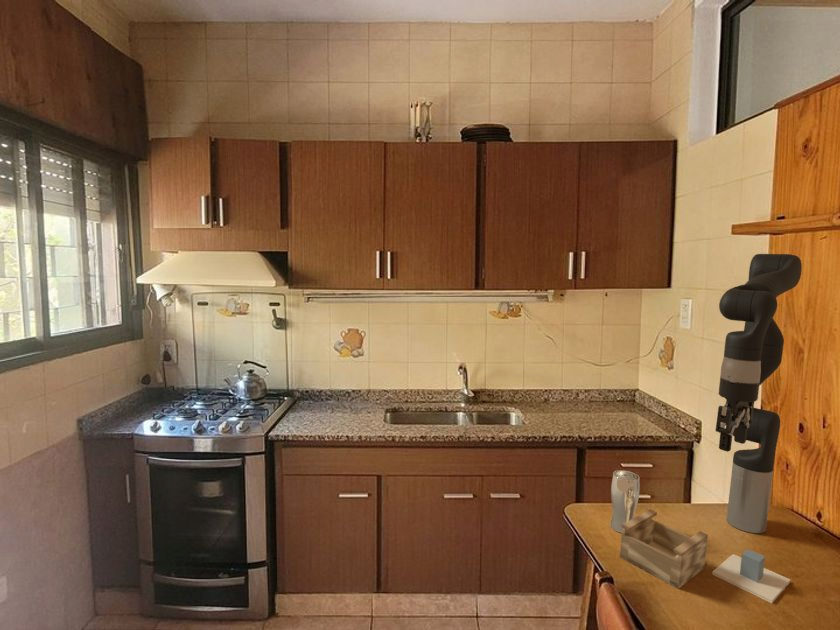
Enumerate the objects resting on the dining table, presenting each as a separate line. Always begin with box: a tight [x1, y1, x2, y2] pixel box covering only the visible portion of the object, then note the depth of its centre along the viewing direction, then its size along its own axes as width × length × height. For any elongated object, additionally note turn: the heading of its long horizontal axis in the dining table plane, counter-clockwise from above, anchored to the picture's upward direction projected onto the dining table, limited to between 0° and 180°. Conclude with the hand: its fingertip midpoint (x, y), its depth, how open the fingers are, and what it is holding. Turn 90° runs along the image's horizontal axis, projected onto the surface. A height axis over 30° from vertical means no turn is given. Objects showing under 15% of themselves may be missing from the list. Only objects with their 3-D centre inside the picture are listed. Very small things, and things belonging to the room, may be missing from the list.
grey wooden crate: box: [619, 509, 709, 589], centre depth 116 cm, size 13×14×8 cm
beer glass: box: [609, 469, 641, 534], centre depth 131 cm, size 7×7×15 cm
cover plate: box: [711, 548, 791, 604], centre depth 112 cm, size 12×12×6 cm
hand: (732, 446), depth 112 cm, fingers open, 8 cm apart
